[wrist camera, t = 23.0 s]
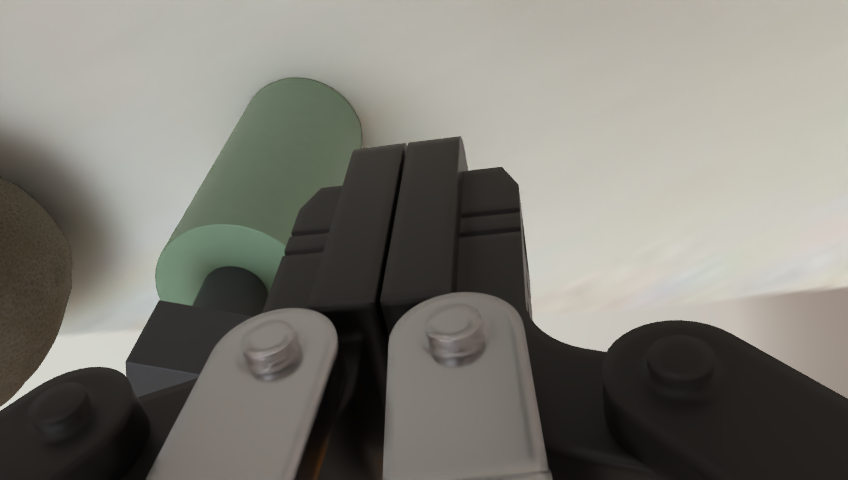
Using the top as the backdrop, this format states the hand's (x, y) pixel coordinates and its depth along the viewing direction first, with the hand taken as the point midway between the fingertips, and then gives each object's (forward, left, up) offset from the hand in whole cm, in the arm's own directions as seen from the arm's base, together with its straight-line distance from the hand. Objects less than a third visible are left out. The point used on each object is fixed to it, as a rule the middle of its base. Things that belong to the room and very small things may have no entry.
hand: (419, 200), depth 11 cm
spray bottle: (+10, +12, -29) cm, 33 cm away
